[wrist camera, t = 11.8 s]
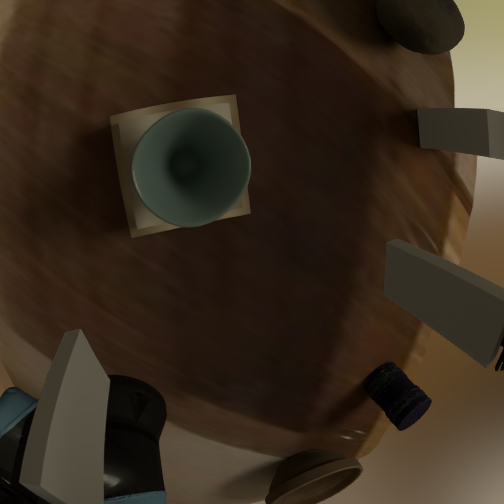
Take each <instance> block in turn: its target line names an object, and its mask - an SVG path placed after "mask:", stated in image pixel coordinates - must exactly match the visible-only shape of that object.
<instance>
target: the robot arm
mask: <svg viewBox="0 0 504 504" xmlns="http://www.w3.org/2000/svg"><path fill="white" fill-rule="evenodd" d="M384 296H386V297H387V298H389V299H390V300H392V301H393V302H395V303H396V304H398V305H399V306H401V307H402V308H403V309H405V310H406V311H408V312H409V313H411V314H412V315H414V316H415V317H416V318H418V319H419V320H421V321H422V322H424V323H425V324H426V325H428V326H429V327H431V328H432V329H433V330H435V331H436V332H438V333H439V334H440V335H442V336H443V337H445V338H446V339H447V340H449V341H450V342H452V343H453V344H454V345H456V346H457V347H458V348H460V349H461V350H462V351H464V352H465V353H467V354H468V355H469V356H470V357H472V358H473V359H474V360H476V361H477V362H478V363H480V364H481V365H482V366H484V367H485V368H486V367H487V366H488V365H489V364H490V363H491V362H492V361H493V360H494V358H495V357H496V354H497V352H498V350H499V347H500V345H501V346H502V347H504V289H503V288H502V287H500V286H498V285H496V284H494V283H492V282H490V281H488V280H486V279H484V278H482V277H480V276H478V275H476V274H474V273H472V272H470V271H468V270H466V269H464V268H462V267H460V266H458V265H456V264H454V263H451V262H449V261H447V260H445V259H443V258H441V257H438V256H436V255H434V254H432V253H430V252H427V251H425V250H423V249H421V248H418V247H416V246H414V245H411V244H409V243H407V242H404V241H402V240H400V239H395V240H392V241H389V242H386V266H385V284H384ZM502 362H503V364H502V366H501V371H502V370H504V348H503V351H502V353H501V355H500V357H499V359H498V362H497V364H496V366H495V371H498V369H499V367H500V365H501V363H502ZM166 417H167V413H166V404H165V401H164V399H163V397H162V395H161V394H160V393H159V392H158V391H157V390H156V389H154V388H153V387H152V386H150V385H148V384H147V383H145V382H142V381H140V380H137V379H134V378H131V377H126V376H117V375H111V376H107V374H106V373H105V371H104V369H103V368H102V366H101V364H100V363H99V361H98V359H97V358H96V356H95V354H94V352H93V351H92V349H91V347H90V345H89V343H88V341H87V340H86V338H85V336H84V334H83V332H82V330H81V329H77V330H73V331H68V332H65V334H64V336H63V338H62V341H61V343H60V345H59V348H58V350H57V352H56V355H55V357H54V360H53V362H52V365H51V367H50V370H49V373H48V375H47V378H46V381H45V384H44V386H43V389H42V392H41V395H40V398H39V399H35V398H34V397H32V396H30V395H29V394H27V393H26V392H24V391H23V390H21V389H19V388H17V387H10V388H8V389H6V390H5V392H4V393H3V394H2V396H1V397H0V504H166V494H167V493H166V491H165V487H164V480H163V474H162V466H161V458H160V450H159V439H160V436H161V433H162V430H163V428H164V425H165V422H166Z"/></svg>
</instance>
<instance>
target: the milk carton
mask: <svg viewBox="0 0 504 504" xmlns="http://www.w3.org/2000/svg"><path fill="white" fill-rule="evenodd" d="M417 113H418V124H419V138H420V148H425V149H435V150H444V151H452V152H459V153H466V154H473V155H479V156H485V157H490V158H496V159H502V160H504V112H499V111H494V110H489V109H474V108H473V109H472V108H431V109H417Z"/></svg>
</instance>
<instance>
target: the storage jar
mask: <svg viewBox="0 0 504 504" xmlns="http://www.w3.org/2000/svg"><path fill="white" fill-rule="evenodd" d="M364 389H365V391H366V392H368V394H369V396H370V397H371V399H372V400H374V401H375V403H376V404H378V405H379V406H380V407H381V408H382V409H383V411H384V412H385V414H386V416H387V418H389V420H390V421H391V422H392V423H393V424H394V425H395V426H396V427H397V429H398V430H399V431H402V430H405V429H407V428H408V427H410V426H411V425H413V424H414V423H415V422H416V421H417V420H419V419H420V418H421V417H422V416H423V415H424V413H425V412H426V411H427V410H428V408H429V406H430V404H431V402H432V400H431V399H430V398H429V397H428V396H427V395H426V394H425V392H423V390H421V389H420V388H419V387H418V386H417V385H414V384H413V383H412V382H411V381H410V380H409V379H408V378H407V375H406V374H405V373H404V372H403V371H402V370H401V369H400V368H398V367H397V366H396V365H395V364H394V363H393V362H386V363H383V364H382V365H380V366H379V367H377V368H376V369H375V370H374V371H373V372H372V373H371V374H370V375H369V376H368V378H367V379H366V381H365V384H364Z"/></svg>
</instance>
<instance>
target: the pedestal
mask: <svg viewBox="0 0 504 504" xmlns="http://www.w3.org/2000/svg"><path fill="white" fill-rule="evenodd" d="M185 108H201V109H206V110H209V111H212V112H214V113H216V114H219V115H220V116H222V117H223V118H224V119H226V120H227V121H229V122H230V123H231V124H232V125H233V126H234V127H235V128H236V129H237V131H238V132H239V134H240V135H241V133H240V125H239V117H238V109H237V101H236V95H227V96H217V97H208V98H200V99H193V100H186V101H179V102H173V103H168V104H162V105H157V106H152V107H147V108H142V109H138V110H133V111H129V112H125V113H121V114H117V115H113V116H110V120H111V129H112V137H113V144H114V151H115V158H116V164H117V170H118V176H119V181H120V186H121V192H122V197H123V201H124V206H125V211H126V215H127V220H128V224H129V228H130V233H131V237H132V238H134V237H139V236H143V235H148V234H152V233H157V232H161V231H166V230H170V229H175V228H180V227H179V226H175V225H172V224H169V223H167V222H165V221H163V220H161V219H160V218H158V217H156V216H155V215H154V214H153V213H152V212H151V211H149V210H148V209H147V208H146V206H145V205H144V204H143V203H142V201H141V200H140V199H139V197H138V195H137V193H136V191H135V189H134V186H133V183H132V180H131V171H130V165H131V159H132V154H133V152H134V150H135V147H136V145H137V143H138V141H139V140H140V138H141V137H142V135H143V134H144V133H145V132H146V131H147V130H148V129H149V128H150V127H151V126H152V125H153V124H154V123H155V122H157V121H158V120H159V119H161V118H162V117H164V116H166V115H168V114H170V113H172V112H174V111H178V110H181V109H185ZM245 214H251V213H250V205H249V197H248V189H247V187H246V189H245V191H244V193H243V195H242V196H241V198H240V199H239V201H238V202H237V203H236V204H235V205H234V206H233V207H232V208H231V209H230V210H229V211H228V212H227V213H225V214H224V215H223V216H221V217H220V218H218V219H216V220H219V219H224V218H229V217H234V216H240V215H245Z"/></svg>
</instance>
